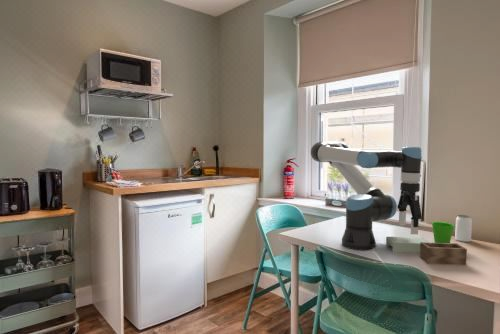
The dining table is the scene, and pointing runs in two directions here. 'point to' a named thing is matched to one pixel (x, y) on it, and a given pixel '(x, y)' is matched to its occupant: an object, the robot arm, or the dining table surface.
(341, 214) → the dining table surface
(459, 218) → the can
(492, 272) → the dining table surface
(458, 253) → the box
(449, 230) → the cup
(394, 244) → the lid
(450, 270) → the dining table surface
